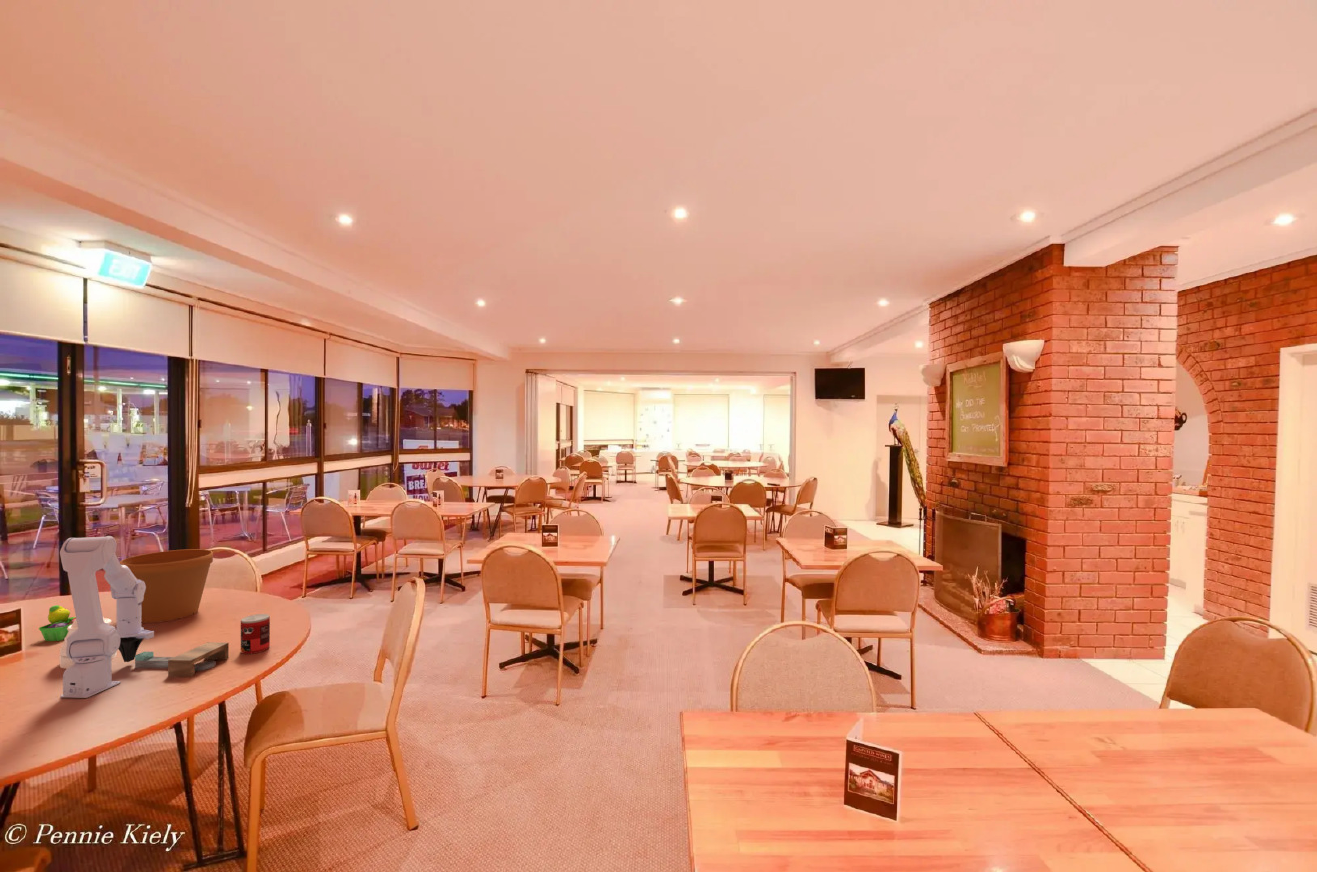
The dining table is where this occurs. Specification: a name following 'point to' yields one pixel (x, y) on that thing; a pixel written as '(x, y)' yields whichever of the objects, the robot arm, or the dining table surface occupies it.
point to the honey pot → (64, 659)
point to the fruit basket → (57, 624)
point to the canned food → (255, 633)
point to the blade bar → (150, 661)
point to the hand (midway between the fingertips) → (129, 660)
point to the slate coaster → (204, 665)
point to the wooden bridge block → (196, 658)
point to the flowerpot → (171, 582)
